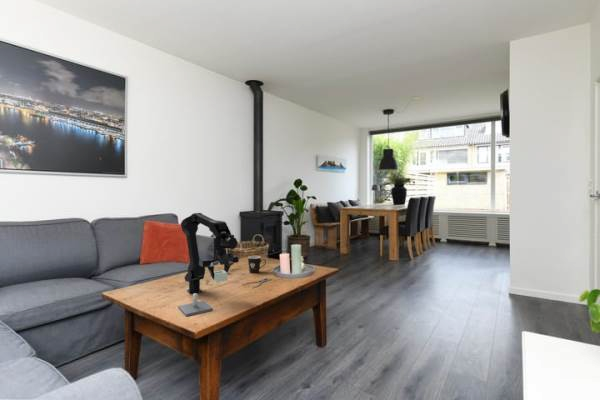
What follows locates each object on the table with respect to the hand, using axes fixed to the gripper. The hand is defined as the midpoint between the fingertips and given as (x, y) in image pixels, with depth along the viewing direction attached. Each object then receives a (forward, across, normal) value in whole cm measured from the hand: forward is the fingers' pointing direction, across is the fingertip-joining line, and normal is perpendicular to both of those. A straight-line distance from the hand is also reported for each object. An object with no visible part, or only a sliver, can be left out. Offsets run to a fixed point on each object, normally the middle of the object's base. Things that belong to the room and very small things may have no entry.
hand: (219, 278), depth 158 cm
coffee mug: (+11, +40, +36) cm, 55 cm away
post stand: (+11, -14, -6) cm, 19 cm away
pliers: (+11, +29, +15) cm, 35 cm away
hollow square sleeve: (+1, 0, 0) cm, 1 cm away
